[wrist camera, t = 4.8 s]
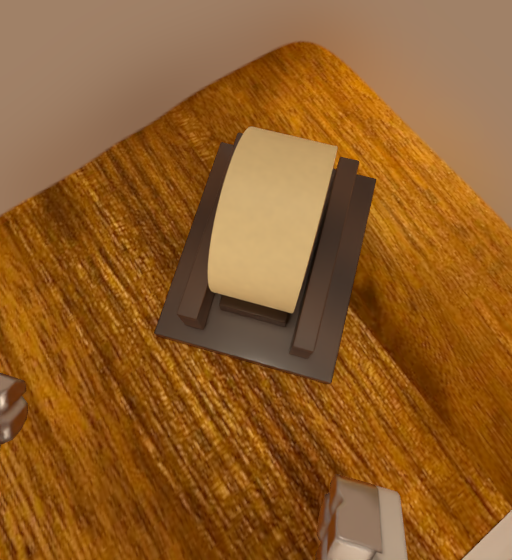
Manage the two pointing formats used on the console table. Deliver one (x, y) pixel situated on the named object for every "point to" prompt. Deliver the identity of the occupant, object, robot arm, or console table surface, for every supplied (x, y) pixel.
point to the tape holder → (264, 320)
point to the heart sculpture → (495, 543)
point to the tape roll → (269, 217)
